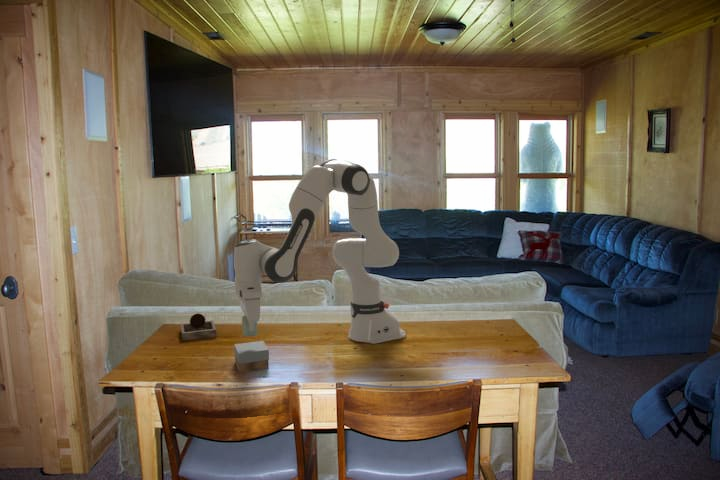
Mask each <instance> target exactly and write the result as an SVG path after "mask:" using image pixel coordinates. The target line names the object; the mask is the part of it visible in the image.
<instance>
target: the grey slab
mask: <svg viewBox="0 0 720 480" xmlns="http://www.w3.org/2000/svg"><path fill="white" fill-rule="evenodd" d="M233 348H234V357H235V356H236V358H237V360H238V362H239V364H242V363H249V362H256V361H263V360H268V361H269V360H270V351H269V348H268V347H267V345H266V343H265V341H264V340H260V341H259V340H258V341H257V340H256V341H251V342H243V343H235V344H234V346H233Z"/></svg>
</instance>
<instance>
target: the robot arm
mask: <svg viewBox="0 0 720 480" xmlns="http://www.w3.org/2000/svg"><path fill="white" fill-rule="evenodd" d="M376 187H377V186H376V184H375V181H374V179H373V178H372V177H371V176H370V175H369V173H368V170H367V169H365V167H364V166H362V165H360V164H357V163H354V162H351V161H349V160H338V159H334V158H332V159H331V158H330V159H327V160H324V161H323V162H321V164H320V165H313V166H311V167H310V168H309V169H308V170H307V171H306V173H305V174H303V177H302V178H301V179H300V181H299V182H298V184H297V186H296V187H295V189H294V191H293V193H292V194H291V197H290V200H289V203H288V209H289V213H290V215H291V225H290V228H289V230H288V232H287V235H286V237H285V239H284V240H283V243H282V244H281V246H280V248H277V247H273V246H269V245H267V244H264V243H262V242H260V241H259V240H257V239H253V238H252V239H251V238H250V239H244V240H242V241H239V242H238V243H236V245H235V246H234V251H233V270H234V272H235V275H234V293H235V295H236V296H238V298H239V306H240V309H241V311H242V313H243V314H244V316H246V318H247V320H248V324H249V325H248V329H249V331H254V325H255V322H256V321H257V322H259V321H260V318H261V317H260V316H261V298H262V297H263V292H262V291H263V289H262V288H263V287H262V276H267V277H268V279H270V280H271V281H272V282H274V283H276V284H277V283H278V284H281V283H282V284H283V283H287V282H288V281H290V280H291V279H292V278H294V276H295V274H296V271H297V268H298V260H299V257H300V254H301V252H302V251H303V250H302V249H303V247H304V245H305V243H306V241H307V239H308V237H309V235H310V232H311V231H312V227H313V226H314V223H315V221H316V219H317V217H318V215H319V213H320V212H321V210H322V208H323V206H324V204H325V202H326V201H327V199H328V197H329V195H330V193H332V191H336V192H339V193H346V195H347V209H348V210H347V211H348V223H349V225H350V227H351V228H352V229H353V230H355V232H358V233H360V234H361V235H362V236H363V237H364V238H359V237H357V238H356V237H355V238H354V237H353V238H351V237H347V238H341V239H338V240H336V242H335V243H334V245H333V246H332V251H331V253H332V258H333V260H334V262H335V263H336V264H337V265H338V266H340V267H341V269H343V270H344V272H345V273H346V274H347V277H348V279H349V282H350V288H351V301H350V316H351V317H350V318H351V321H350V326H349V327H350V328H349V332H348V338H349V339H350V340H352V341H354V342H358V343H359V342H360V343H367V344H372V345H376V344H380V343H384V342H390V341H394V340H399V339H404V338H406V331H404V330H403V328H401V327H400V323H399V321H398V318H397V317H395V316H394V315H393V314H391V313H390V312H389V311H387V310H388V309H389V308H390V305H389V303H387V302H385V301H382V300H381V283H380V281H379V280H378V279H377V278H376V277H375V276H373V275H371V274H370V273H369V272H367V270H366V269H365V268H384V267H392V266H394V265H395V264H396V263H397V261H398V260H399V257H400V249H399V246H398V244H397V243H396V241H394V240H393V239H391V238H390V237H389V236H388V235H387V234H386V233H385V231H384V230H383V228H382V226H381V223H380V217H379V206H378V204H379V203H378V194H377V189H376ZM386 309H387V310H386Z"/></svg>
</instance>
